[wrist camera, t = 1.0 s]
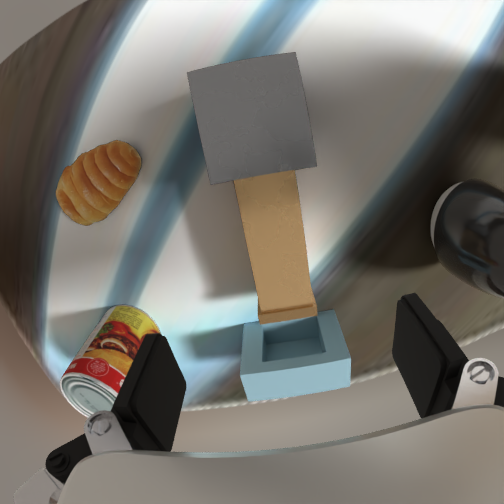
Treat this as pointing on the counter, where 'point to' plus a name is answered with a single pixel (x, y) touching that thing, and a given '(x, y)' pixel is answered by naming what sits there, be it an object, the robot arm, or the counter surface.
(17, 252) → the counter surface
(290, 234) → the tan wooden plank
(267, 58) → the gray square block
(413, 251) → the counter surface
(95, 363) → the canned food
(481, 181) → the pump dispenser
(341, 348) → the socket block
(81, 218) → the pastry
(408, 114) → the counter surface
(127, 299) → the counter surface
